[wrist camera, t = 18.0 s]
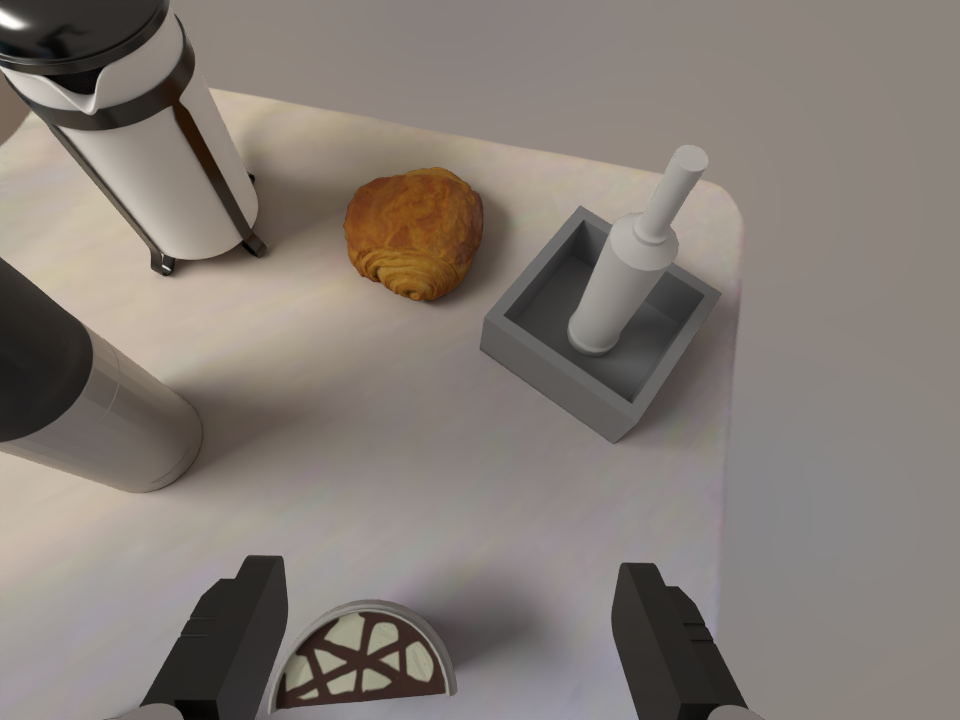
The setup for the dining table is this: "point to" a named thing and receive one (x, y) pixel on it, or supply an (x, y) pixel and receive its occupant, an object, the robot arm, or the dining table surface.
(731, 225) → the dining table surface
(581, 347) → the bottle
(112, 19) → the coffee press
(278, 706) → the food container
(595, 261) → the charcoal tub
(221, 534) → the dining table surface
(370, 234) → the croissant
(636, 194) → the dining table surface
